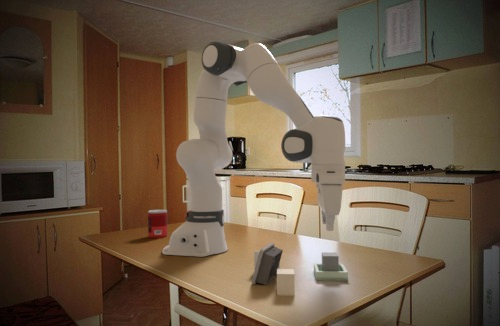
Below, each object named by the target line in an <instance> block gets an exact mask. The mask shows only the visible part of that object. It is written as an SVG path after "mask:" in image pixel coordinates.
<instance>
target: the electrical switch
mask: <svg viewBox="0 0 500 326" xmlns="http://www.w3.org/2000/svg"><path fill="white" fill-rule="evenodd" d="M259 251H260V252H259V256H258V259H257V263H256V267H255V266H254V271H253V275H252V279H251V284H253V285H254V286H255V285H256V284H257V283H258V284H261V285H264V286H267V285H268V284H269V283H270V282H272V281H273V280H274V278H277V269H278V266H279V263H280V262H281V258H282V255H283V251H284V250H283V249H282V248H278V247H277V246H275V243H274V242H270V243H269V244H267V245H266V246H264V247H261V248H260V250H259ZM274 260H275V262H274ZM273 262H274V263H273ZM280 264H281V263H280Z"/></svg>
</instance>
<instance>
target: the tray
mask: <svg viewBox="0 0 500 326" xmlns="http://www.w3.org/2000/svg"><path fill="white" fill-rule="evenodd" d="M313 273H314V276H315V280H316V281H319V282H320V281H321V282H322V281H324V282H325V281H326V282H328V281H329V282H330V281H331V282H333V281H334V282H337V281H338V282H345V281H346V282H348V281H349V272H348V269H347V268H346V267H345V265H344V263H339V271H322V263H313Z"/></svg>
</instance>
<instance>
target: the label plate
mask: <svg viewBox="0 0 500 326" xmlns="http://www.w3.org/2000/svg"><path fill="white" fill-rule="evenodd" d="M259 252H260V250H254V253H253V255H254V257H253V258H254V260H253V263H254V268H255V267H256V263H257V259H258V256H259ZM274 262H275V260H274ZM274 262H273V263H274ZM280 264H281V263H279V266H278V269H281V267H280V266H281V265H280Z"/></svg>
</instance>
